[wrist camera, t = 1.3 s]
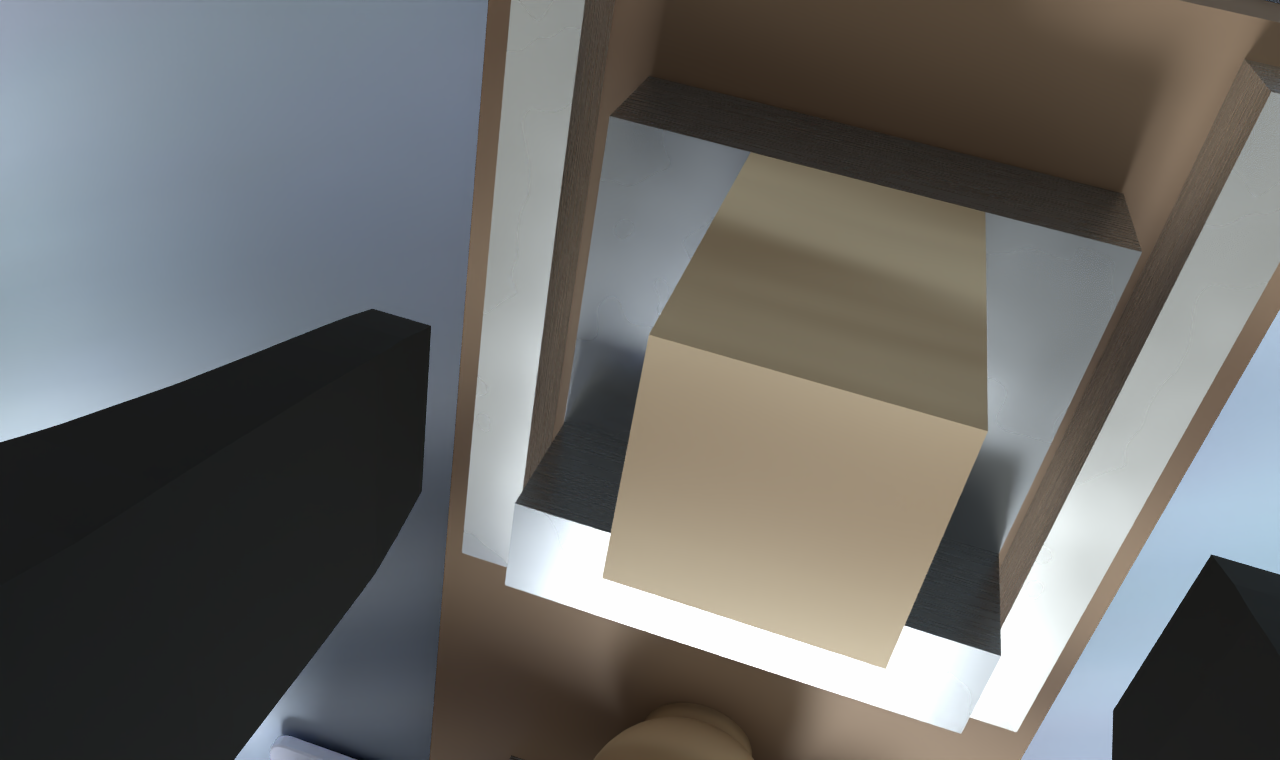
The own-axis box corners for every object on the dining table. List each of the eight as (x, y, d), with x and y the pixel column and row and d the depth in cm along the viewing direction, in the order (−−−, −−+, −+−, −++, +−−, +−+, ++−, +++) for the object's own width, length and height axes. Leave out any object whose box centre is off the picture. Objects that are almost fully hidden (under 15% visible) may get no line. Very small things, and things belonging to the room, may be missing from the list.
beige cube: (964, 547, 18) (957, 927, 12) (589, 434, 19) (418, 738, 13) (1123, 194, 14) (1220, 497, 9) (649, 75, 15) (450, 277, 10)
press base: (898, 919, 26) (881, 1168, 22) (450, 761, 28) (347, 960, 23) (1386, 27, 14) (1581, 164, 9) (538, -160, 16) (357, -119, 11)
